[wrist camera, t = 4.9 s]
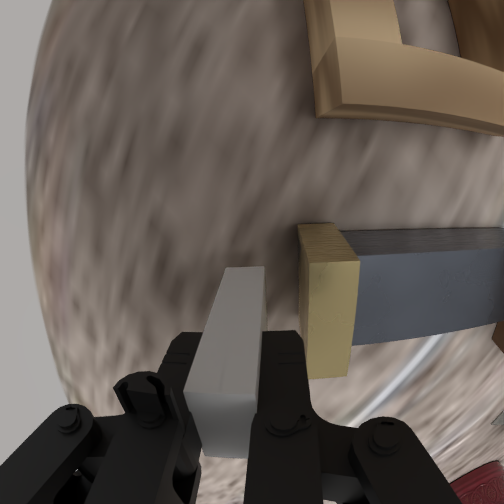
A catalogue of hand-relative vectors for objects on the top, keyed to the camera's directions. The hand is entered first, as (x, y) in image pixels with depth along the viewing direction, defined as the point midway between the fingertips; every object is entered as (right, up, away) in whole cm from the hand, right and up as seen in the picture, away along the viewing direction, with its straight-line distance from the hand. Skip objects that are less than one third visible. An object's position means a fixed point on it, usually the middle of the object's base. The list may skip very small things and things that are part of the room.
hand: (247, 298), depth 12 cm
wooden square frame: (+7, +12, -3) cm, 15 cm away
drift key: (+8, +1, +2) cm, 9 cm away
